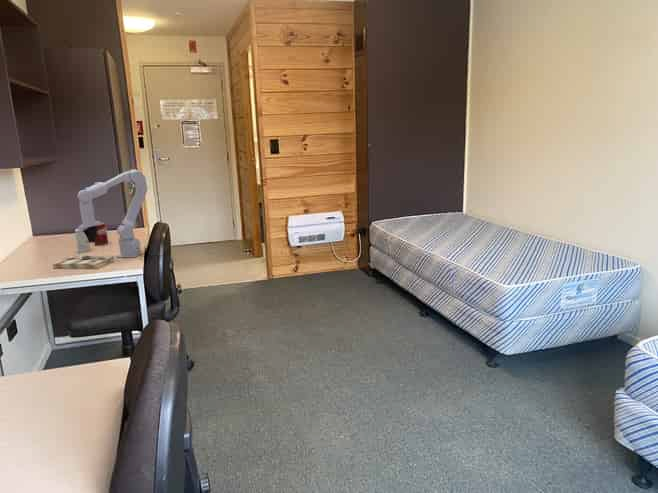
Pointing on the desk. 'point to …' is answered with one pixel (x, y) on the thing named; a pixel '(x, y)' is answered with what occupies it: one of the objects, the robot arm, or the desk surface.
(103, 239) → the soda can
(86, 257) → the middle button
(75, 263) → the button board
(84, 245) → the skincare box
